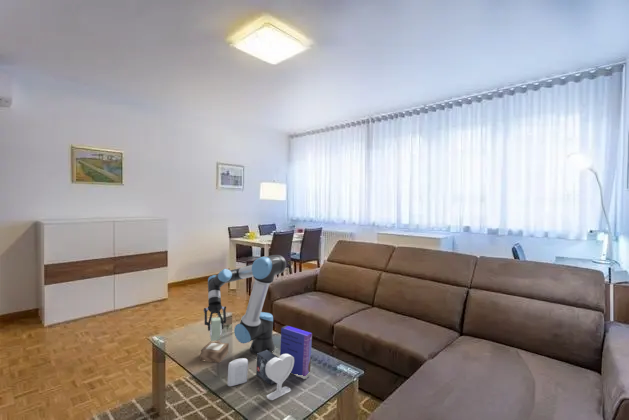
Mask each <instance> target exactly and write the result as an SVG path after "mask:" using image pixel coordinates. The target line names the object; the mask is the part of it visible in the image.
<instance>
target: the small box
mask: <svg viewBox="0 0 629 420" xmlns="http://www.w3.org/2000/svg"><path fill="white" fill-rule="evenodd" d="M274 357H277V358H279V357H280V356H277V355H276V354H274V352H272V353H271V352H269V351H268V350H265V351H263V352H260V353H257V355H256V370H255V371H256V372H255V373H256V376H258V377H259V378H260V379H262V380H263V381H264V382H266V383H267V384H268V385H270V386H271V385H274V384H275V383H276V382H274V381H272V380H271V379H270V378H268V376H267V375H266V370H265V368H266V364H267V362H268V361H270V360H271V359H272V358H274ZM276 384H277V383H276Z"/></svg>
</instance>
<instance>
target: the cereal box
mask: <svg viewBox="0 0 629 420" xmlns="http://www.w3.org/2000/svg"><path fill="white" fill-rule="evenodd" d="M280 329H281V330H280V349H279V351H280V352H279V357H280V356H281V355H282V354H289V355H291V356H293V357H294V366H293V369H292V371H291V373H293V374H298V375H303V376H306V375H307V374H308V373H309V372H310V373H311V361H312V359H311V358H312V340H313V333H312V332H310V331H307V330H302V329H301V328H297V327H294V326H290V325H284V326H282V327H280Z"/></svg>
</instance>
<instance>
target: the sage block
mask: <svg viewBox="0 0 629 420" xmlns="http://www.w3.org/2000/svg"><path fill="white" fill-rule="evenodd" d="M210 324H211V326H212V336H211V337H210V336H209V337H210V341H211V342H218V341H220V340H221V336H220V327H221V319H220V317H218V316H217V317H212V318H211V322H210Z"/></svg>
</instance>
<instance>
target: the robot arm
mask: <svg viewBox="0 0 629 420" xmlns="http://www.w3.org/2000/svg"><path fill="white" fill-rule="evenodd" d="M286 268H287V261H286V259H285V257H284V256H282V255H281V254H273V255H268V256H261V257H258V258H256V259H255V260H254V261H253V262H252V264H250V265H246V266H242V267H238V268H234V269H228V268H224V269H221V270H220V272H219V273H218V274H213V275H210V276H209V277H208V278H207V291H208V293H207V295H208V297H207V298H208V299H207V301H208V302H207V303H208V306H207V307H204V308H203V313H204V326H207V331H208V332H209V337H211V336H212V326H211V318H213V314H217V317H220V319H221V327H220V337H221V336H222V335H223V330H224V324H226V322H227V313H226V311H227V306H223V305H222V297H221V287H223V286H224V285H225V284H228V283H231V282H235V281H236V282H237V281H241V280H244V279H248V278H252V277H253V279H254V282H253V287H252V290H251V293H250V297H249V300H248V304H247V307H246V310H245V313H244V315H242V316H241V319H240V323H237V324H236V325H235V327H234V330H233V331H234V332H233V333H234V336H235V338H236V340H237V341H238V342H240V344H247V343H250V342H251V345H250V350H249V351H250V352H251V353H252V354H253V355H256V356H257V353H260V352H263V351H265V350H268V351H269V352H272V351H273V350H274V351H275V343H274V339H273V332H274V331H273V329H274V328H273V327H274V316H273V314H272V313H270V312H264V311H262V310H263V307H264V303H265V300H266V297H267V293H268V290H269V286H270V285H271V284H272V283H273V282H274V279H275V276H277V275H280V274H282V273H284V271H285V270H286ZM221 310H222V314H223V315H222V314H221ZM208 311H209V312H210V314H209V319H208ZM222 316H223V317H222ZM274 351H273V352H274ZM273 352H272V353H273Z"/></svg>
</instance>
